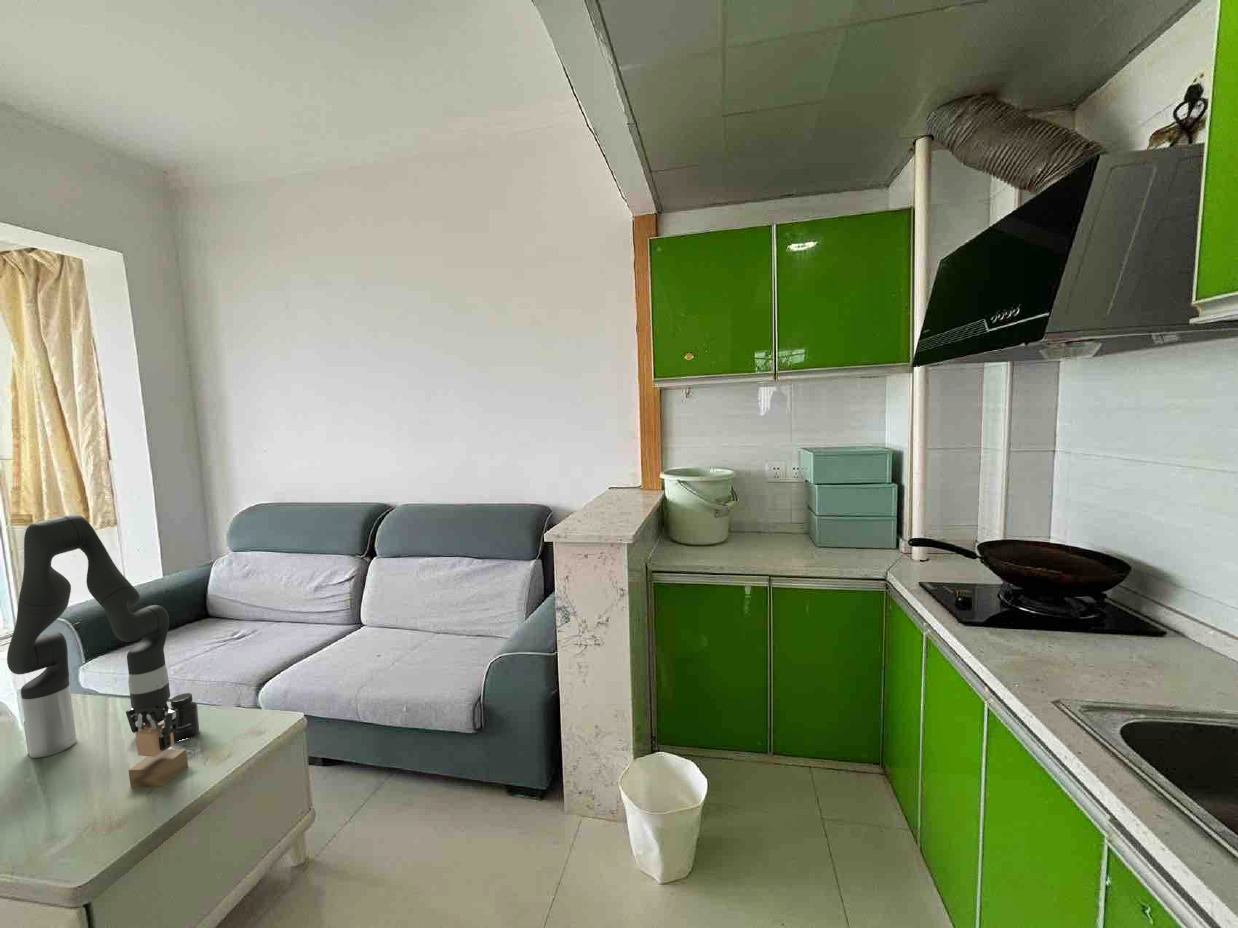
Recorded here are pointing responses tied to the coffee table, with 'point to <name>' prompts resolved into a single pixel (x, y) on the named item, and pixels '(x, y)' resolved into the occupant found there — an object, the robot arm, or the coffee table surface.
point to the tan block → (150, 742)
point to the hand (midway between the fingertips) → (156, 747)
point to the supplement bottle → (185, 716)
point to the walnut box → (158, 769)
